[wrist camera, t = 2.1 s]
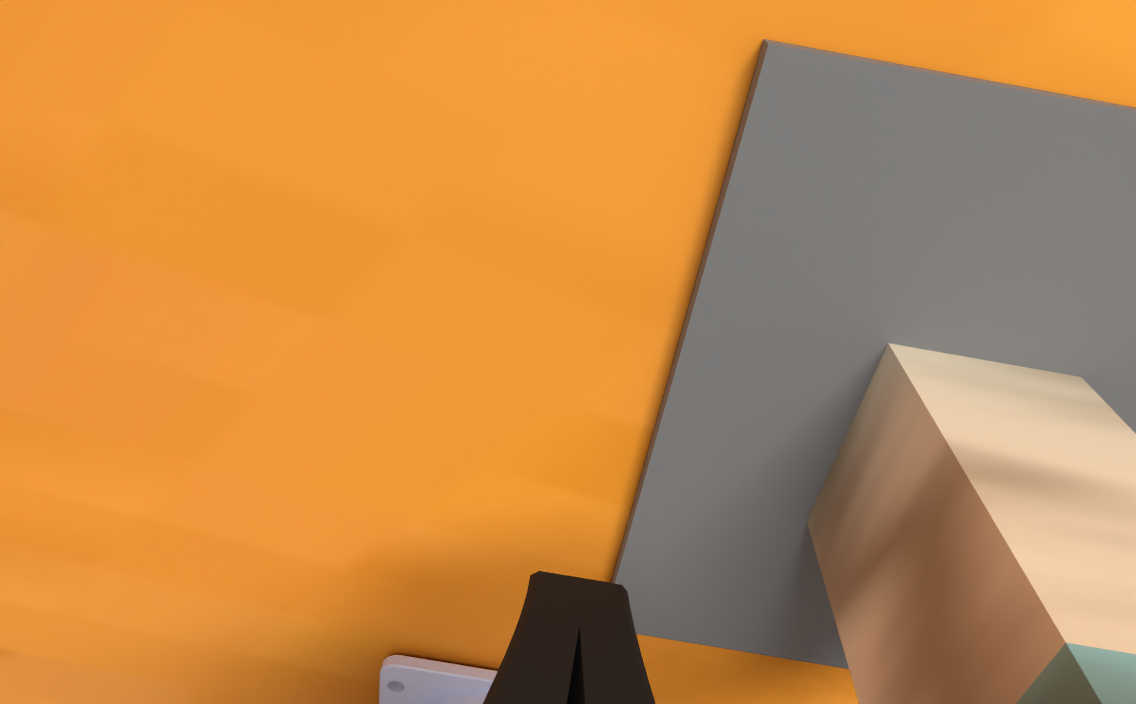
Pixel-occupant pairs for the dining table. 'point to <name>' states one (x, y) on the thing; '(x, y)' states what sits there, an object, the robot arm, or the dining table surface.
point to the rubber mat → (864, 312)
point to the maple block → (982, 537)
